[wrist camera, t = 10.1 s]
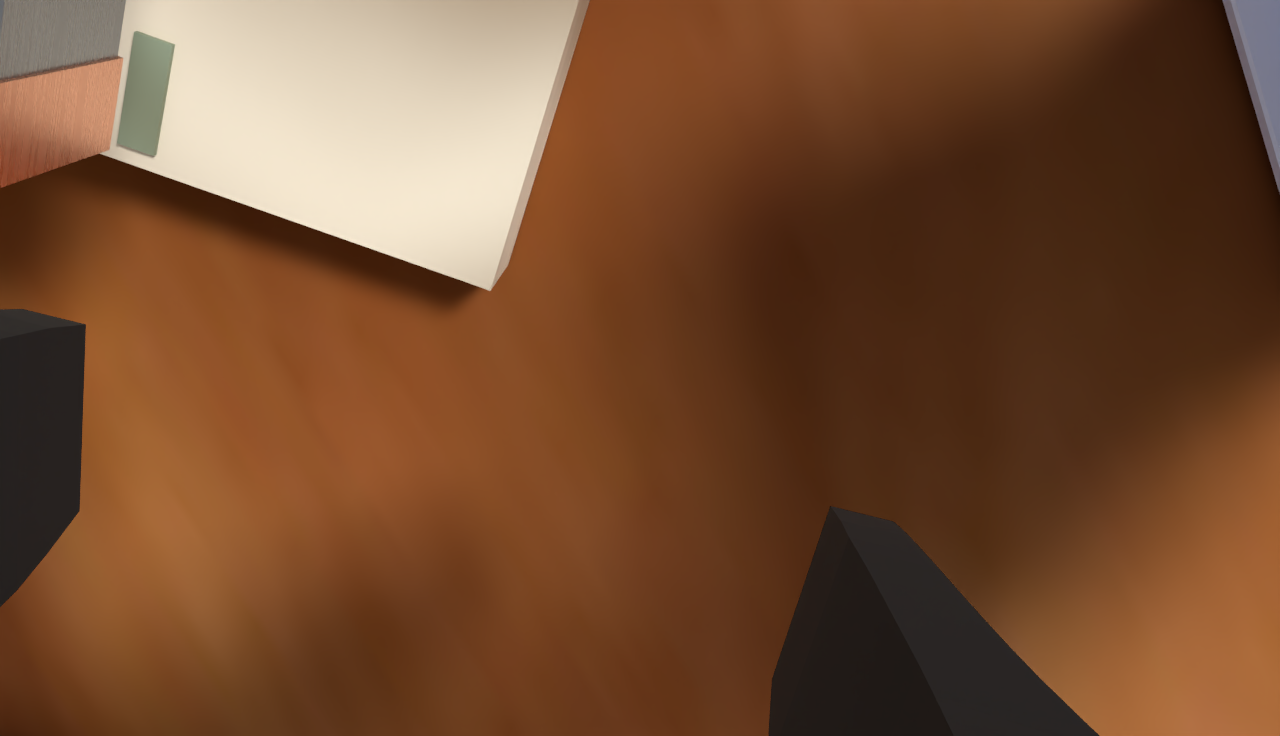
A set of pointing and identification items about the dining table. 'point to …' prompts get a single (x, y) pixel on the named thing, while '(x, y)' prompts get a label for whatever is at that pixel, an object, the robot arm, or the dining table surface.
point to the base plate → (353, 114)
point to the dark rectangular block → (56, 82)
